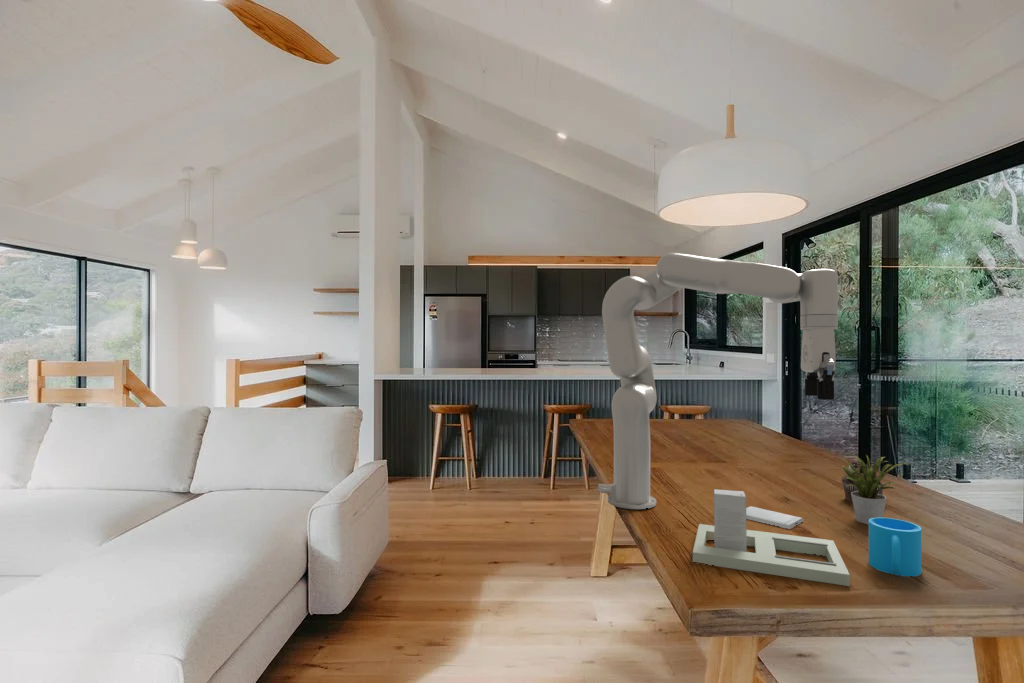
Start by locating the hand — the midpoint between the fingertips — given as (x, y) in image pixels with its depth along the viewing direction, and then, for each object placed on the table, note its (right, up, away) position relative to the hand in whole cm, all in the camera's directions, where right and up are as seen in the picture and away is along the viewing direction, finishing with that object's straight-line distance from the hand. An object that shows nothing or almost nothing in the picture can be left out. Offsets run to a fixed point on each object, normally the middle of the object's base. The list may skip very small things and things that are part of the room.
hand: (818, 397), depth 124 cm
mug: (+1, -30, -24) cm, 38 cm away
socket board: (-20, -30, -17) cm, 40 cm away
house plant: (+16, -30, +4) cm, 34 cm away
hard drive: (-9, -31, +6) cm, 32 cm away
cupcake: (+24, -30, +22) cm, 44 cm away
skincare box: (-26, -30, -15) cm, 43 cm away
